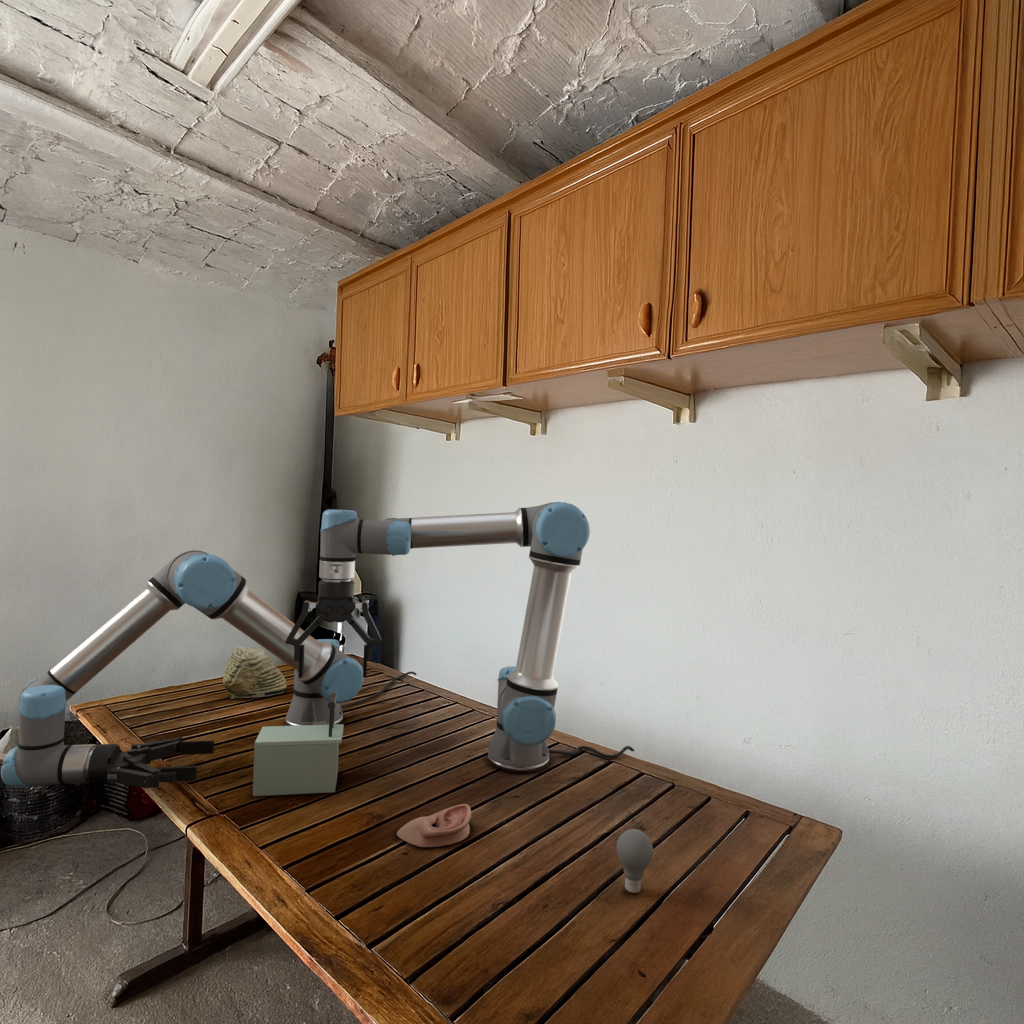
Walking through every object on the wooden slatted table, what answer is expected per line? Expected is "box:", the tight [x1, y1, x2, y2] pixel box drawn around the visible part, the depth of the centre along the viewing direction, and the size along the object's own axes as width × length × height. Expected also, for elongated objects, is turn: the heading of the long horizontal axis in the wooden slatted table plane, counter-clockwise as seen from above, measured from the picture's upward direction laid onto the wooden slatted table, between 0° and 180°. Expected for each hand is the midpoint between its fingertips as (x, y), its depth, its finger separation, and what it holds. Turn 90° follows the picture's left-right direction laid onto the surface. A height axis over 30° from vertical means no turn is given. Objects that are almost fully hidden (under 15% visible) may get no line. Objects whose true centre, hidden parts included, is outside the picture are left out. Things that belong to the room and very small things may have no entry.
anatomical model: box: [396, 803, 472, 848], centre depth 121 cm, size 13×4×12 cm
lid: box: [254, 693, 345, 747], centre depth 139 cm, size 18×9×9 cm, turn 102°
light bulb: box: [615, 828, 654, 894], centre depth 106 cm, size 6×6×10 cm
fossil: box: [222, 646, 288, 699], centre depth 198 cm, size 9×18×15 cm, turn 132°
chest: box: [252, 743, 340, 797], centre depth 139 cm, size 17×9×10 cm, turn 102°
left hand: (205, 759), depth 135 cm, fingers open, 13 cm apart
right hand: (333, 675), depth 140 cm, fingers open, 13 cm apart
